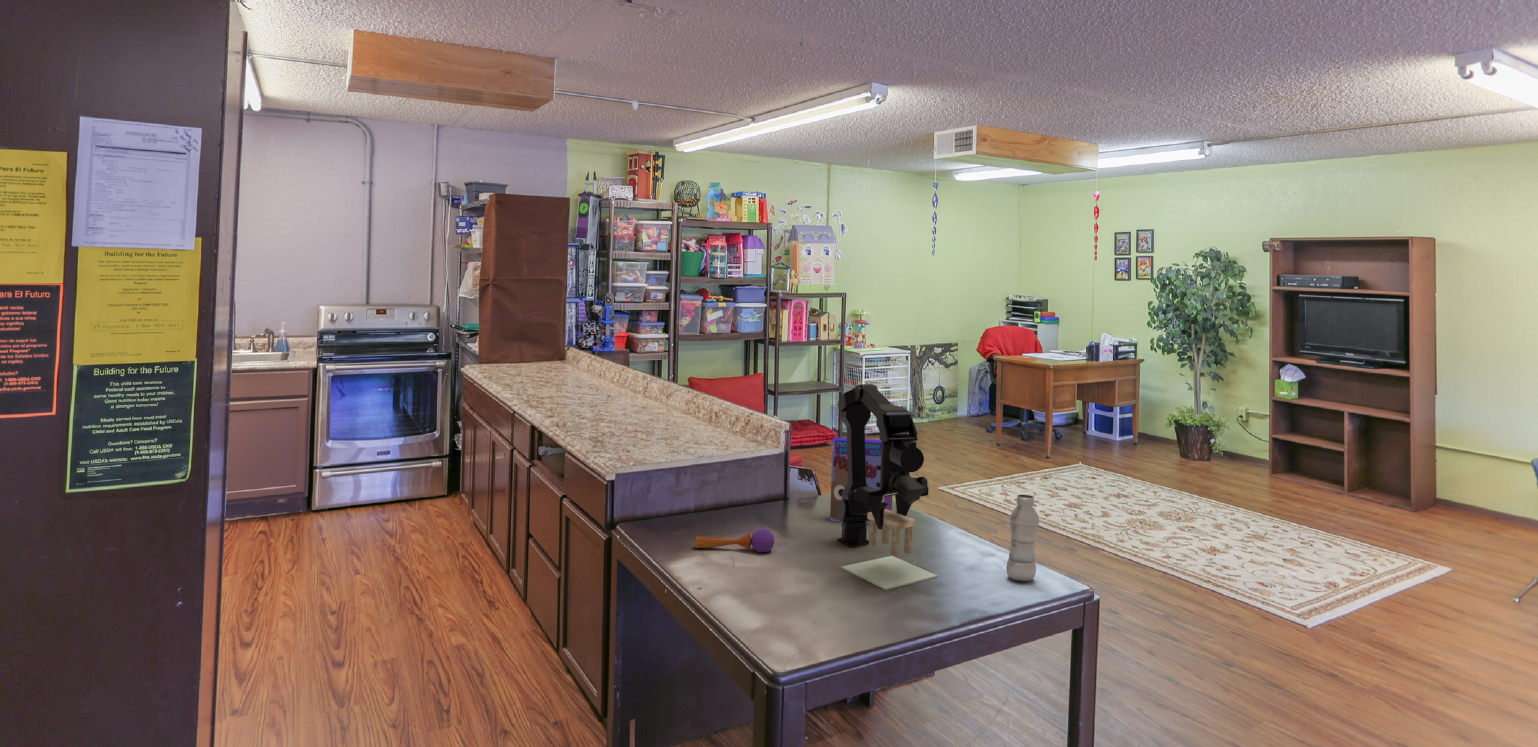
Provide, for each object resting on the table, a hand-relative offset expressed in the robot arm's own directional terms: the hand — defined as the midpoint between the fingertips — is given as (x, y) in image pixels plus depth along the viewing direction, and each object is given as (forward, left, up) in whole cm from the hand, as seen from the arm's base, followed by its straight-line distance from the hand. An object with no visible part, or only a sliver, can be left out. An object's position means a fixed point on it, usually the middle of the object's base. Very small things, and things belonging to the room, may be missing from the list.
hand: (890, 527), depth 190 cm
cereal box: (-36, +21, -11) cm, 43 cm away
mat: (0, 0, -11) cm, 11 cm away
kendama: (-32, -24, -12) cm, 42 cm away
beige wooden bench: (0, 0, -5) cm, 5 cm away
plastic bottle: (+19, +24, -11) cm, 33 cm away
